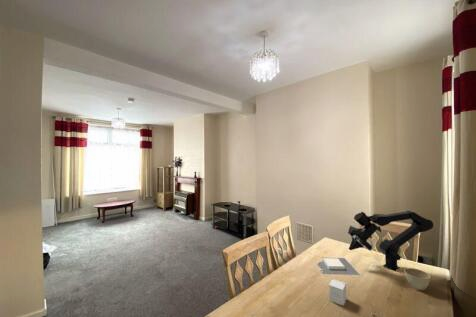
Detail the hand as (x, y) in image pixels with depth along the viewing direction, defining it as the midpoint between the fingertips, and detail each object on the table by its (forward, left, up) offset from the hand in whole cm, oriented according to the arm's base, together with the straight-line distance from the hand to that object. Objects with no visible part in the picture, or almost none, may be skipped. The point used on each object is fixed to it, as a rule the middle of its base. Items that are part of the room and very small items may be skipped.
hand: (349, 249), depth 124 cm
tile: (+4, -3, -9) cm, 10 cm away
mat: (+8, -5, -10) cm, 14 cm away
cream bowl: (-9, +30, -10) cm, 33 cm away
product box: (+34, +15, -10) cm, 38 cm away
